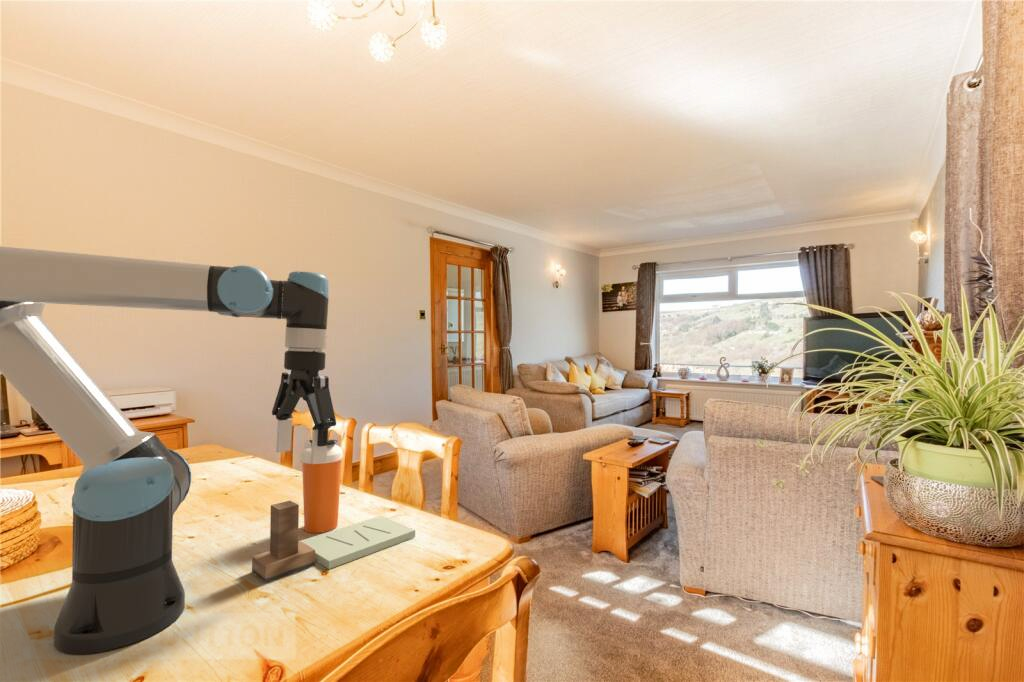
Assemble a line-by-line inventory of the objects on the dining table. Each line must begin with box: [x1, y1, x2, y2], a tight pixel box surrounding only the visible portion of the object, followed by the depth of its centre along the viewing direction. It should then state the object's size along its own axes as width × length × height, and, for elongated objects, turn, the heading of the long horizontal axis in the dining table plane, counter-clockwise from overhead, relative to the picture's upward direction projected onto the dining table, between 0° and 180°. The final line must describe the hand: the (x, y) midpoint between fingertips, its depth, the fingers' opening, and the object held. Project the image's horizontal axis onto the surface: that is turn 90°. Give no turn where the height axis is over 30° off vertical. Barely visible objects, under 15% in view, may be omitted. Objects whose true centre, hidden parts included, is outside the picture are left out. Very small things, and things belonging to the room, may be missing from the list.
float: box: [251, 500, 316, 584], centre depth 89 cm, size 9×6×12 cm, turn 139°
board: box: [298, 515, 416, 570], centre depth 100 cm, size 20×13×2 cm, turn 139°
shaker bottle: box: [300, 439, 344, 534], centre depth 109 cm, size 9×9×20 cm
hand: (300, 457), depth 94 cm, fingers open, 13 cm apart
